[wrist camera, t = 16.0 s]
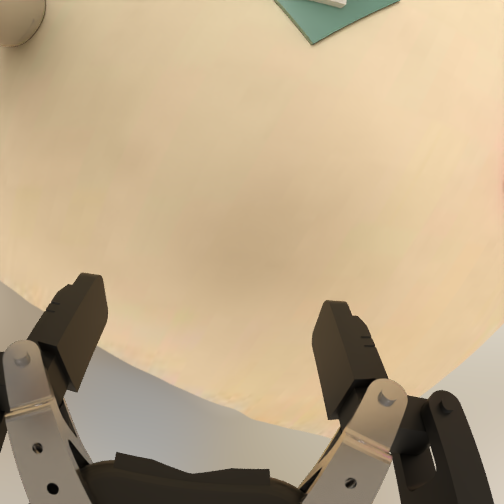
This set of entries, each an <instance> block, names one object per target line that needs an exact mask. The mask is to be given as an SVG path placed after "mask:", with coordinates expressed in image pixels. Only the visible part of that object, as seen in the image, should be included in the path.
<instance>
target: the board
mask: <svg viewBox="0 0 504 504" xmlns="http://www.w3.org/2000/svg"><path fill="white" fill-rule="evenodd" d="M274 1H275V2H276V3H277V4H278V5H279V7H280V8H281V9H282V10H283V11H284V12H285V13H286V15H287V16H288V17H289V18H290V19H291V20H292V22H293V23H294V24H295V25H296V26H297V28H298V29H299V30H300V31H301V33H302V34H303V35H304V36H305V38H306V39H307V40H308V41H309V43H310V44H311V45H312V44H314V43H316V42H317V41H319V40H321V39H323V38H324V37H326V36H328V35H330V34H332V33H333V32H335V31H337V30H339V29H341V28H343V27H345V26H347V25H349V24H350V23H352V22H354V21H356V20H358V19H360V18H362V17H364V16H367V15H369V14H371V13H373V12H375V11H377V10H379V9H381V8H384V7H386V6H388V5H390V4H393V3H395V2H397V1H400V0H274Z"/></svg>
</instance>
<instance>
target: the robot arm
mask: <svg viewBox="0 0 504 504" xmlns="http://www.w3.org/2000/svg"><path fill="white" fill-rule="evenodd" d="M44 13H45V0H0V46H18V45H21V44H23V43H24V42H26V41H27V40H28V39H30V38H31V36H32V35H33V34H34V33H35V32H36V30H37V29H38V27H39V25H40V23H41V22H42V19H43V16H44ZM107 318H108V306H107V301H106V295H105V289H104V283H103V278H102V276H101V275H95V274H88V273H81V274H80V275H79V276H78V278H77V279H76V281H75V282H74V283H73V285H70V284H68V285H67V286H65V287H64V288H62V289H61V290H60V291H58V292H57V294H56V295H55V297H54V298H53V300H52V301H51V303H50V304H49V305H48V307H47V308H46V311H44V313H43V315H42V316H41V318H40V319H39V321H38V322H37V324H36V325H35V327H34V329H33V330H32V332H31V334H30V335H29V337H28V338H27V340H19V341H16V342H14V343H12V344H11V345H10V346H9V347H8V348H7V349H6V351H5V352H0V452H1V448H2V445H3V442H4V439H5V435H6V433H7V431H8V434H9V439H10V443H11V446H12V451H13V454H14V458H15V461H16V464H17V468H18V471H19V474H20V477H21V480H22V483H23V486H24V489H25V491H26V494H27V497H28V499H29V502H30V503H29V504H372V503H373V500H374V499H375V497H376V494H377V493H378V491H379V489H380V486H381V484H382V482H383V480H384V478H385V476H386V474H387V471H388V469H389V467H390V464H391V462H392V459H393V464H394V469H395V474H396V479H397V484H398V489H399V494H400V500H401V504H494V502H493V498H492V494H491V491H490V487H489V484H488V481H487V477H486V473H485V470H484V467H483V464H482V461H481V458H480V455H479V452H478V449H477V446H476V443H475V440H474V438H473V435H472V432H471V429H470V427H469V424H468V422H467V419H466V416H465V414H464V411H463V409H462V407H461V404H460V402H459V401H458V399H457V398H456V397H455V396H454V395H453V394H451V393H450V392H448V391H443V390H439V391H436V392H434V393H433V394H432V395H431V396H430V397H429V398H428V399H424V398H418V397H413V396H409V395H407V394H406V392H405V390H404V389H403V387H402V386H401V385H399V384H398V383H397V382H395V381H393V380H390V379H388V376H387V374H386V371H385V369H384V366H383V364H382V361H381V359H380V356H379V354H378V351H377V349H376V347H375V344H374V342H373V339H371V335H370V332H369V330H368V328H367V325H366V324H365V323H364V322H363V321H362V320H361V319H360V318H359V317H358V316H352V314H351V311H350V309H349V306H348V304H347V303H346V302H344V301H329V300H326V301H325V302H324V303H323V306H322V308H321V311H320V314H319V317H318V320H317V322H316V325H315V328H314V331H313V335H312V347H313V352H314V356H315V361H316V365H317V370H318V374H319V379H320V384H321V388H322V393H323V398H324V402H325V407H326V412H327V417H328V420H334V419H339V421H340V425H341V426H340V427H339V428H338V430H337V432H336V433H335V435H334V437H333V438H332V440H331V441H330V443H329V445H328V446H327V448H326V449H325V451H324V452H323V454H322V456H321V457H320V459H319V460H318V462H317V463H316V465H315V466H314V467H313V469H312V470H311V471H310V473H309V474H308V475H307V477H306V478H305V479H304V480H303V482H302V483H301V484H300V485H299V487H298V488H296V487H295V486H293V485H291V484H289V483H286V482H284V481H281V480H278V479H275V478H271V477H270V472H269V469H234V468H231V469H225V470H219V471H212V472H204V473H196V474H191V473H186V472H183V471H181V470H178V469H175V468H173V467H170V466H167V465H164V464H162V463H160V462H157V461H155V460H152V459H147V458H142V457H136V456H132V455H127V454H123V453H118V452H116V457H115V460H109V461H101V462H96V463H93V462H92V460H91V458H90V456H89V455H88V453H87V451H86V449H85V448H84V446H83V444H82V442H81V440H80V437H79V435H78V433H77V430H76V428H75V425H74V423H73V420H72V418H71V415H70V412H69V409H68V407H67V404H66V401H65V399H64V395H65V392H66V390H70V391H74V392H78V389H79V387H80V384H81V382H82V379H83V377H84V374H85V372H86V369H87V367H88V364H89V362H90V360H91V357H92V355H93V352H94V350H95V348H96V345H97V343H98V341H99V339H100V336H101V334H102V332H103V330H104V327H105V325H106V322H107ZM430 446H431V449H432V452H433V456H434V459H435V463H436V470H435V466H434V463H433V459H432V455H431V452H430V448H429V447H430ZM389 452H391V454H389Z"/></svg>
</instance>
